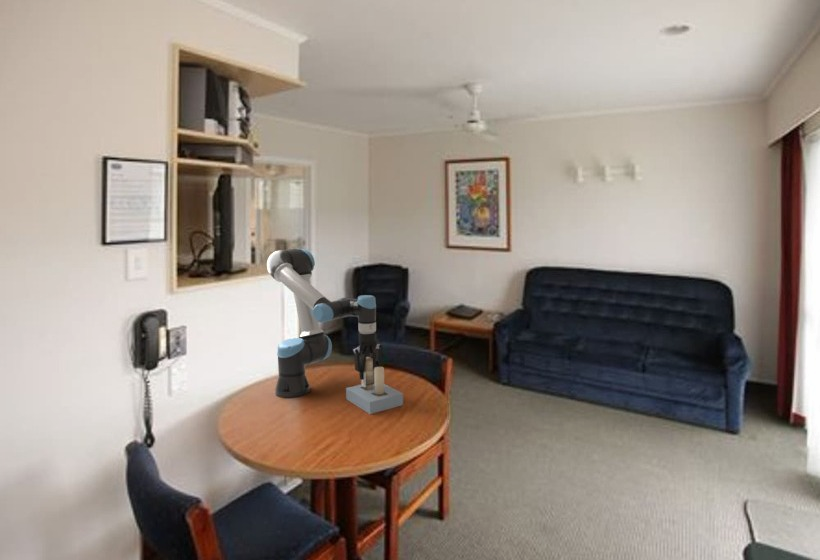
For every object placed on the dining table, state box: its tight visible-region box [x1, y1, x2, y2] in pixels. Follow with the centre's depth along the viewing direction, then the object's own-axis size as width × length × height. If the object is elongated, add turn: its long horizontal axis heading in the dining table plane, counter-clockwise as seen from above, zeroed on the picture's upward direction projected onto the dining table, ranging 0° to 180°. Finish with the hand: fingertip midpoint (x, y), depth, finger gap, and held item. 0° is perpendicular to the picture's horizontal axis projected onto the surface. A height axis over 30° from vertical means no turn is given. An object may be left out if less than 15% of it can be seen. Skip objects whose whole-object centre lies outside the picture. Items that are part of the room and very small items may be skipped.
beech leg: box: [364, 356, 373, 391], centre depth 207 cm, size 4×4×16 cm
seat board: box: [345, 366, 404, 415], centre depth 203 cm, size 20×16×16 cm
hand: (368, 385), depth 207 cm, fingers closed on beech leg, 4 cm apart
